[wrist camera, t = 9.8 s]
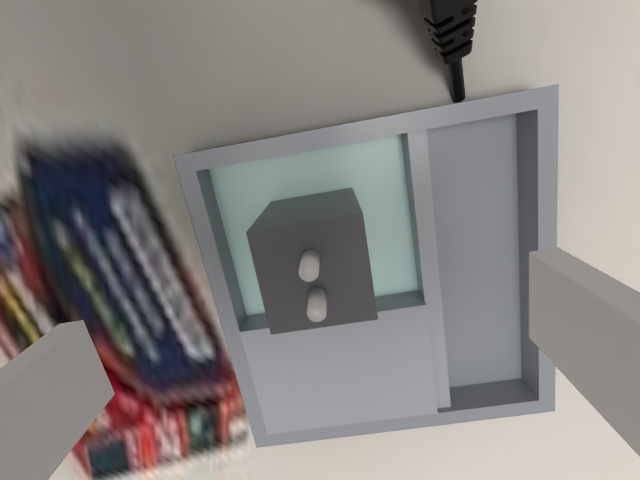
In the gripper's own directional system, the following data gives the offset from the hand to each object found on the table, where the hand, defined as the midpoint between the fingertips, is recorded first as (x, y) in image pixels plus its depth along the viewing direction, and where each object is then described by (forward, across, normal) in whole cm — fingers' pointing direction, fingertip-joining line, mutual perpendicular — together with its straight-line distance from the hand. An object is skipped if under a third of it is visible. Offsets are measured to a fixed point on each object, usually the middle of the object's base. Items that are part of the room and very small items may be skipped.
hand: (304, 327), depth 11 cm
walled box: (+13, +3, -5) cm, 14 cm away
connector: (+12, 0, -1) cm, 12 cm away
